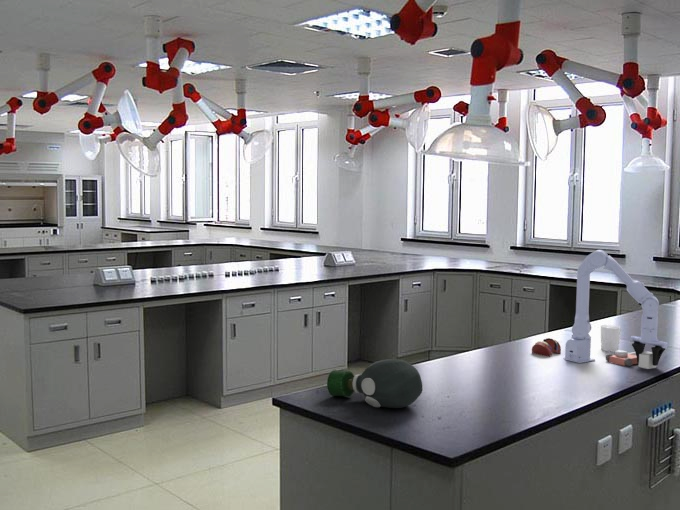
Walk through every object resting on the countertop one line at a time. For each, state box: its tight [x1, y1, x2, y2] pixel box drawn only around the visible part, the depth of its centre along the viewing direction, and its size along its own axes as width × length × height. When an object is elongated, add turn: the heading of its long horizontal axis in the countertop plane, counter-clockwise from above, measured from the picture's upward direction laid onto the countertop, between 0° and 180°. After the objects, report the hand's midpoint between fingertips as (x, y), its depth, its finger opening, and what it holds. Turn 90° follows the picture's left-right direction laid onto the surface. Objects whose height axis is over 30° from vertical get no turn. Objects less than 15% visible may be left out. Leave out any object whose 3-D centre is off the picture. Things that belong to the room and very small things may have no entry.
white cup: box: [600, 324, 622, 353], centre depth 290 cm, size 8×8×10 cm
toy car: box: [605, 349, 639, 367], centre depth 270 cm, size 18×10×4 cm, turn 122°
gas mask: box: [326, 358, 423, 409], centre depth 213 cm, size 14×18×30 cm
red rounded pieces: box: [531, 337, 562, 357], centre depth 283 cm, size 8×6×12 cm
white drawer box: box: [638, 351, 657, 370], centre depth 261 cm, size 5×4×6 cm
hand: (647, 363), depth 261 cm, fingers open, 6 cm apart
